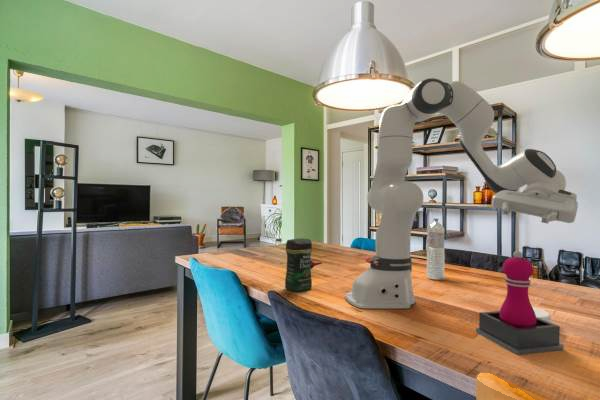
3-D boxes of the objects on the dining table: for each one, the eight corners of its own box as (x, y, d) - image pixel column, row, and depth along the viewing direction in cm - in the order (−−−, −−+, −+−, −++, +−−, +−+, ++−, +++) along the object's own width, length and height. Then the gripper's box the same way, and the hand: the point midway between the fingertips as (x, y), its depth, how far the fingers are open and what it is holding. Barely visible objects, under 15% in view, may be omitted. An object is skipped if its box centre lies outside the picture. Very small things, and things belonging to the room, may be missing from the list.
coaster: (497, 320, 89) (497, 307, 89) (519, 314, 93) (519, 302, 93) (536, 334, 79) (536, 319, 79) (559, 327, 84) (559, 313, 84)
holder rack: (517, 354, 68) (517, 331, 68) (476, 331, 80) (476, 311, 80) (563, 349, 71) (563, 327, 71) (516, 328, 82) (516, 308, 82)
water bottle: (446, 280, 130) (446, 219, 130) (428, 280, 131) (429, 219, 131) (441, 276, 136) (442, 218, 136) (425, 276, 138) (425, 218, 137)
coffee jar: (294, 293, 112) (294, 240, 112) (281, 288, 118) (281, 238, 118) (315, 289, 118) (315, 238, 118) (302, 284, 124) (302, 236, 124)
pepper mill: (527, 345, 70) (527, 254, 70) (493, 333, 77) (493, 250, 76) (542, 338, 74) (542, 252, 74) (508, 327, 80) (509, 247, 80)
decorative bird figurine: (294, 270, 148) (294, 249, 148) (324, 276, 136) (324, 253, 136) (289, 271, 146) (289, 249, 146) (320, 278, 134) (320, 254, 134)
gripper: (501, 182, 103) (484, 198, 95) (584, 195, 89) (572, 215, 81) (499, 199, 106) (482, 216, 98) (579, 215, 91) (567, 236, 83)
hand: (524, 216), depth 89 cm, fingers open, 8 cm apart
